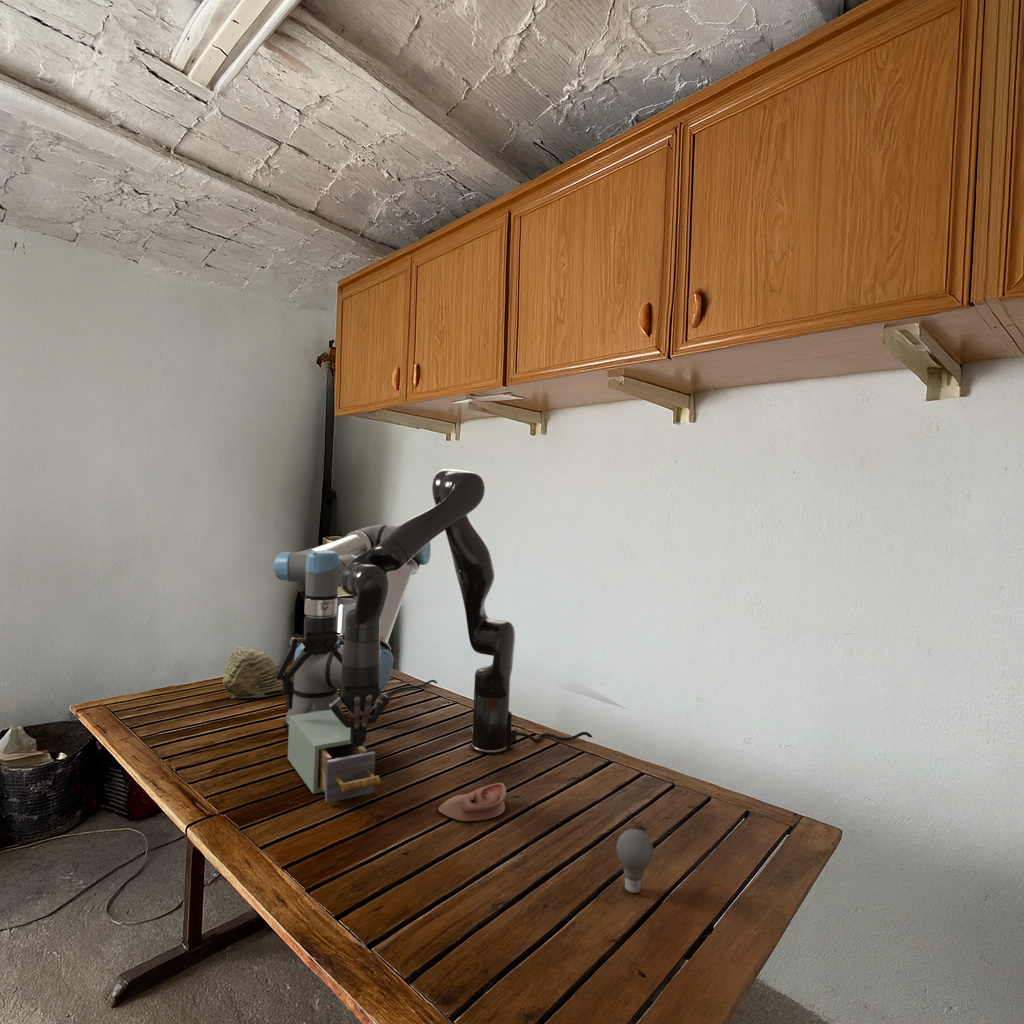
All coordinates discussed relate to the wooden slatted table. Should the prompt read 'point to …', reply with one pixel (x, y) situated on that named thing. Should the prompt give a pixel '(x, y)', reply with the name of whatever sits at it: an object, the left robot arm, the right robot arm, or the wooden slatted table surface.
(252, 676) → the fossil
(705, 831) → the wooden slatted table surface
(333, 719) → the cabinet
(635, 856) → the light bulb
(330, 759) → the drawer
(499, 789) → the anatomical model
